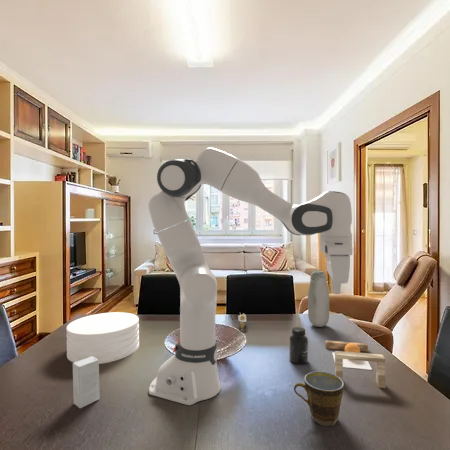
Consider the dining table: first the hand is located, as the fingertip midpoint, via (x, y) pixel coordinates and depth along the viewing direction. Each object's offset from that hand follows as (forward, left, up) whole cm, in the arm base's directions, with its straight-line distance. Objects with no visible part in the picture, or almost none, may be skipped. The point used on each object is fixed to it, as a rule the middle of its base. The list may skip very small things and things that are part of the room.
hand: (336, 292), depth 89 cm
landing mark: (+8, +26, -31) cm, 41 cm away
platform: (-39, +55, -32) cm, 74 cm away
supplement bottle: (-11, +22, -31) cm, 40 cm away
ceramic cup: (-6, -11, -31) cm, 34 cm away
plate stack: (-90, +16, -32) cm, 97 cm away
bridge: (+8, +10, -31) cm, 34 cm away
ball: (+9, +29, -28) cm, 41 cm away
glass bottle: (-1, +63, -31) cm, 70 cm away
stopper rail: (+8, +37, -31) cm, 49 cm away
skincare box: (-72, -18, -31) cm, 81 cm away
